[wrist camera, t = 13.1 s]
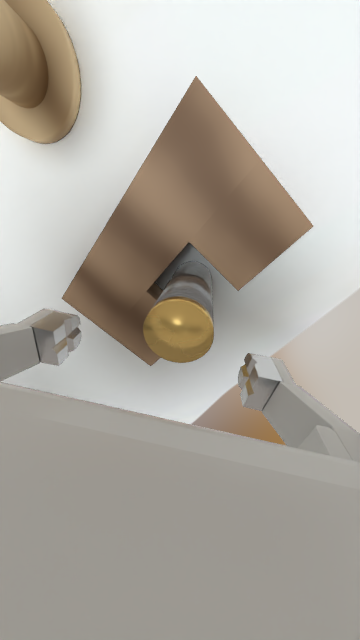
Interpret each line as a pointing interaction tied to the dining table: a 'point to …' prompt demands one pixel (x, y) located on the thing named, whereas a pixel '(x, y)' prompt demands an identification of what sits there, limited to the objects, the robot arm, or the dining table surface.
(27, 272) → the dining table surface
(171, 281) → the gold lidded spice jar
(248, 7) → the dining table surface
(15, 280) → the dining table surface
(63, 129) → the tan spool
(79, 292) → the notch board
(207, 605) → the robot arm
